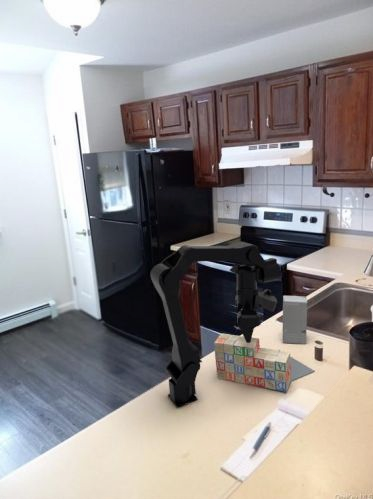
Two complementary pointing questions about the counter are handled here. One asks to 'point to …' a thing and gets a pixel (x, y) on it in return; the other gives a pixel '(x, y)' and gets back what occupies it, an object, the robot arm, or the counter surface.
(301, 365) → the mat
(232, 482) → the counter surface
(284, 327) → the skincare box
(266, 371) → the stack of blocks
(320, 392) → the counter surface
